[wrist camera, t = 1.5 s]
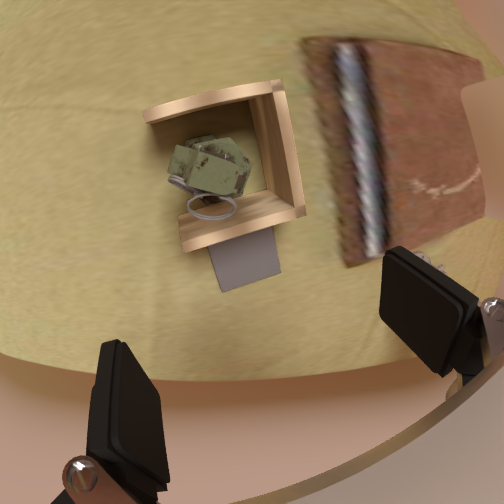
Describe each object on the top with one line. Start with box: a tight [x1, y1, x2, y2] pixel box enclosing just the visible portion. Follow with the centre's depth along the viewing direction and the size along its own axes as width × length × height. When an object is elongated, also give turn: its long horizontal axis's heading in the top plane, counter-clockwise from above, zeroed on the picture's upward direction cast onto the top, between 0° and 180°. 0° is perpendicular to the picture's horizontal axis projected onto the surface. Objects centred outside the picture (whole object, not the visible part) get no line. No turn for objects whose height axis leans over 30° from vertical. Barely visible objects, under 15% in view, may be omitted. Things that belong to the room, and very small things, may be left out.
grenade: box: [167, 135, 252, 221], centre depth 27 cm, size 7×7×15 cm
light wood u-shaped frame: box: [142, 79, 306, 253], centre depth 30 cm, size 13×14×9 cm
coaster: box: [208, 226, 281, 292], centre depth 40 cm, size 9×9×1 cm
